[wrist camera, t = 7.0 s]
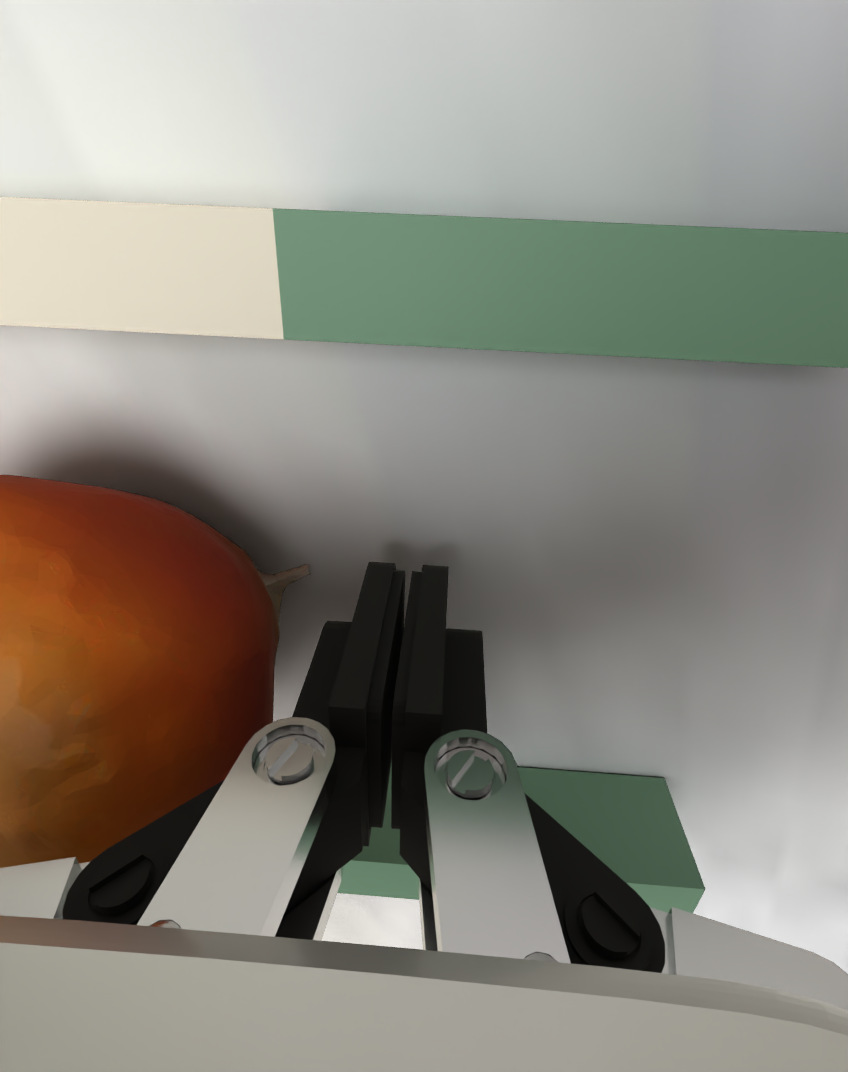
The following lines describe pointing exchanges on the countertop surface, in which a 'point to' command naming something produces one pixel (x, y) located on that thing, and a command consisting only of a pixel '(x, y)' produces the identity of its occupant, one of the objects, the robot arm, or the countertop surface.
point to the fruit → (121, 663)
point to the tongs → (452, 322)
